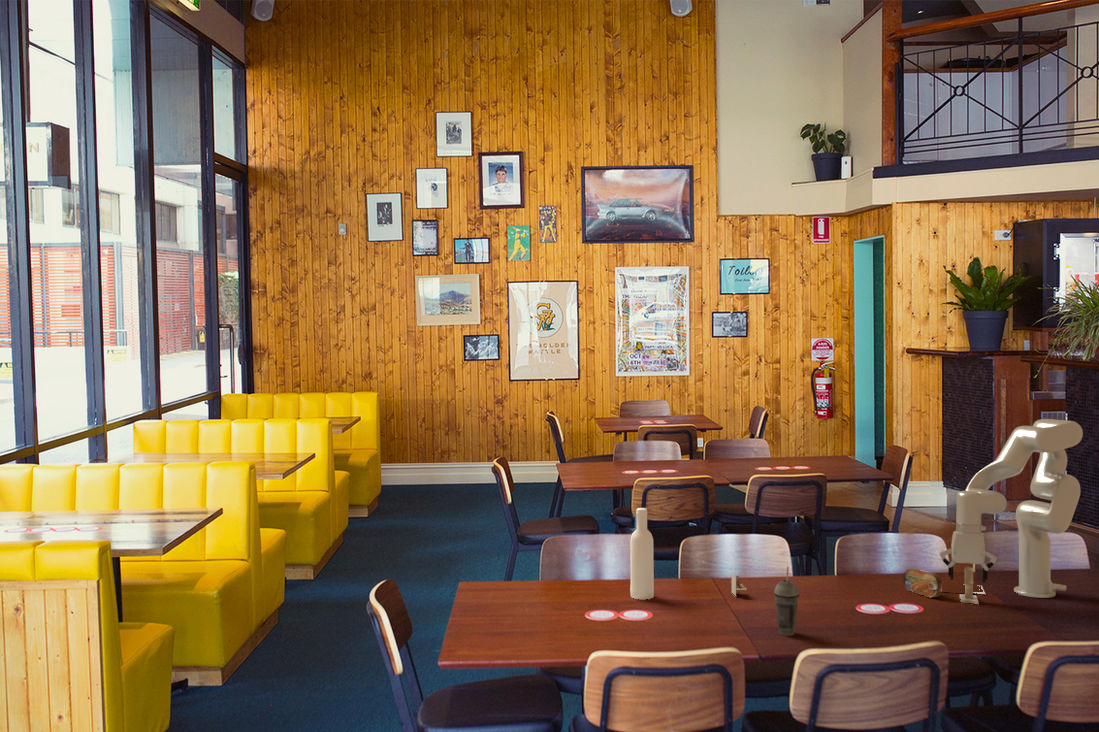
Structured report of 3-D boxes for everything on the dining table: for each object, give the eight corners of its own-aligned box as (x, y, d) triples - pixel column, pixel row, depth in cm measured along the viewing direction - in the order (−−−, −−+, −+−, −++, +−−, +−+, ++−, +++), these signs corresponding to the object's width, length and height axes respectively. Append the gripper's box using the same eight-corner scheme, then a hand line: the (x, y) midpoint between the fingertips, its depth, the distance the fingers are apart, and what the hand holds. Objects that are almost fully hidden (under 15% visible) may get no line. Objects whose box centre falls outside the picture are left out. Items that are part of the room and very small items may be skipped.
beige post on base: (975, 598, 312) (975, 565, 312) (978, 605, 305) (978, 570, 305) (959, 597, 314) (959, 564, 314) (961, 603, 306) (961, 569, 306)
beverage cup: (795, 629, 279) (795, 562, 279) (802, 637, 272) (802, 568, 271) (771, 629, 279) (770, 563, 278) (777, 637, 271) (777, 568, 271)
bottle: (645, 601, 311) (645, 511, 311) (625, 597, 316) (625, 509, 316) (658, 596, 318) (657, 508, 317) (638, 592, 323) (638, 506, 322)
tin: (902, 590, 324) (902, 566, 324) (909, 589, 325) (909, 565, 325) (937, 600, 310) (937, 575, 310) (943, 599, 312) (943, 574, 312)
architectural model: (741, 594, 322) (741, 572, 321) (746, 599, 315) (746, 577, 314) (731, 594, 321) (731, 573, 321) (736, 600, 314) (736, 578, 314)
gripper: (995, 528, 310) (994, 580, 310) (939, 525, 315) (938, 575, 316) (998, 532, 303) (997, 585, 303) (941, 528, 308) (939, 580, 308)
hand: (967, 580), depth 309 cm, fingers open, 9 cm apart
